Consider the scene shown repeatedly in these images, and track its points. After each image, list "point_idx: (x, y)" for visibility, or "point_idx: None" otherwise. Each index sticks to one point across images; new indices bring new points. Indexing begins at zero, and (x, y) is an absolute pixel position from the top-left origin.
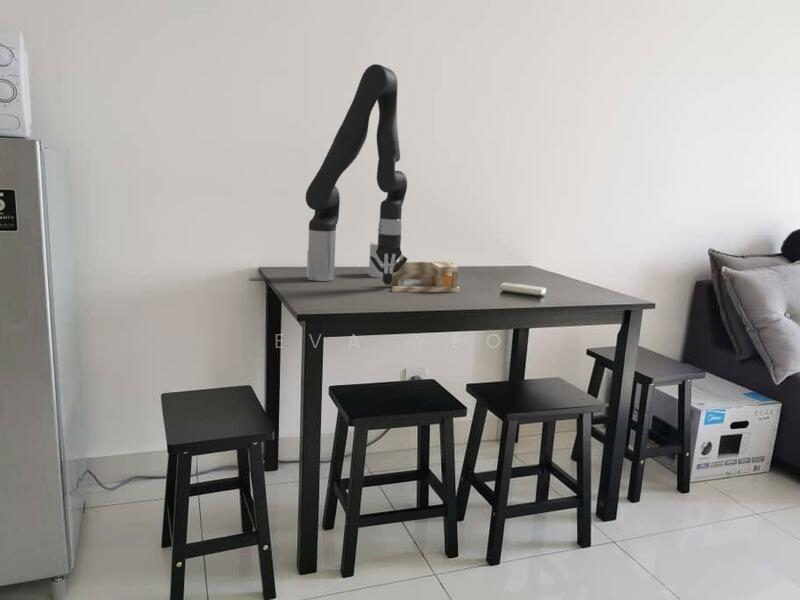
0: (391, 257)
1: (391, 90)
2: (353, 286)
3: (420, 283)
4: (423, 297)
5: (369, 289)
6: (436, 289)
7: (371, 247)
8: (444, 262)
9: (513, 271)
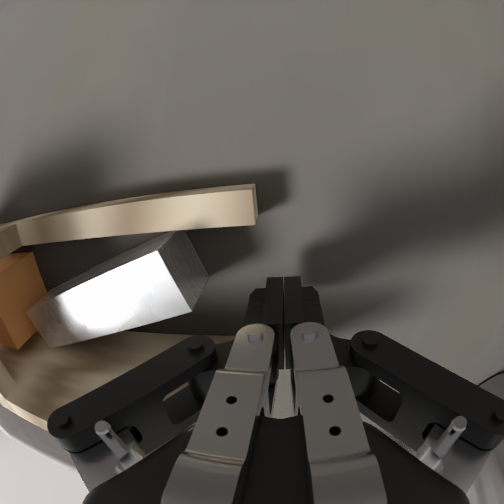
0: (241, 477)
1: None
2: (448, 318)
3: (73, 284)
4: (93, 56)
5: (400, 252)
6: (24, 220)
7: None
8: None
9: (3, 417)
